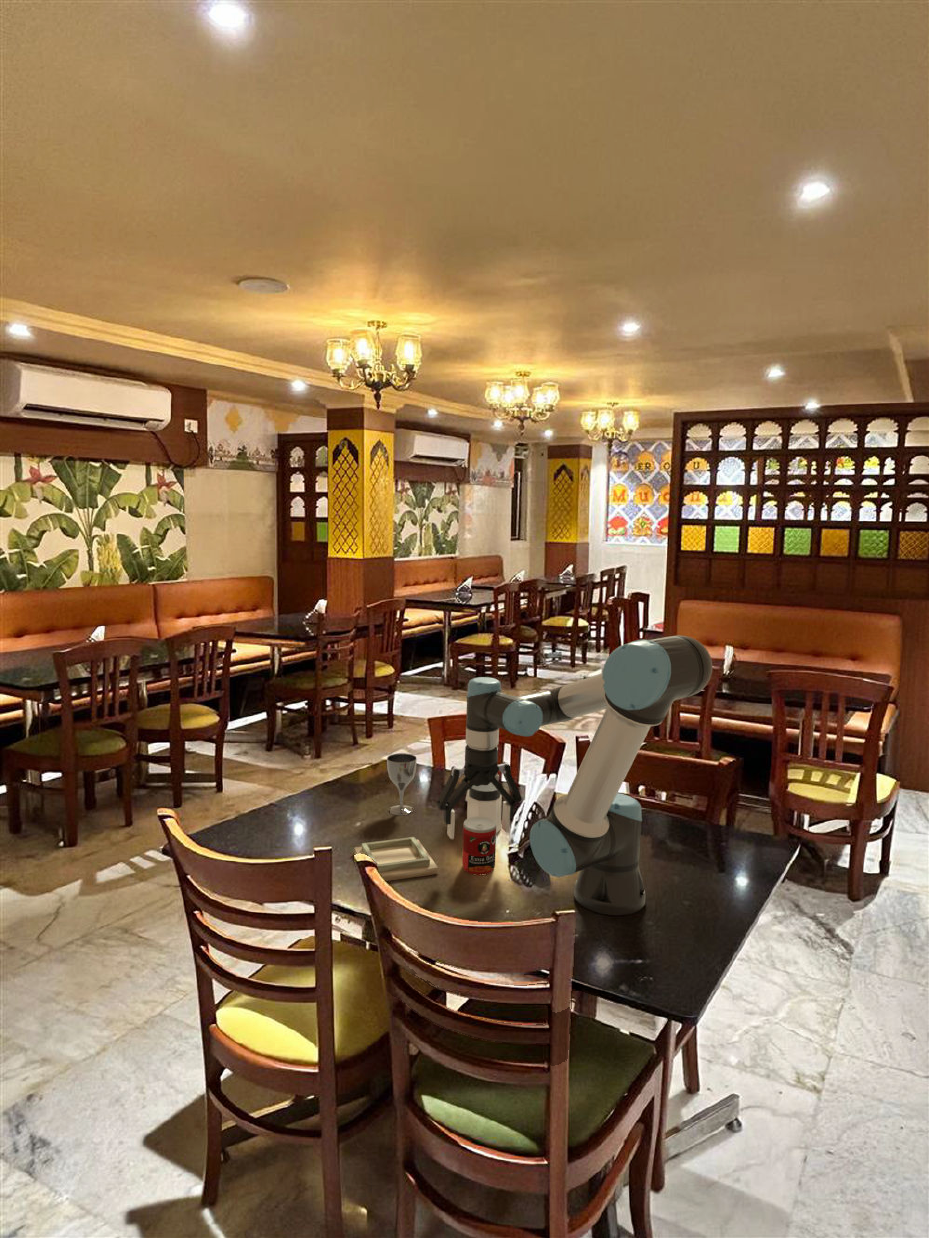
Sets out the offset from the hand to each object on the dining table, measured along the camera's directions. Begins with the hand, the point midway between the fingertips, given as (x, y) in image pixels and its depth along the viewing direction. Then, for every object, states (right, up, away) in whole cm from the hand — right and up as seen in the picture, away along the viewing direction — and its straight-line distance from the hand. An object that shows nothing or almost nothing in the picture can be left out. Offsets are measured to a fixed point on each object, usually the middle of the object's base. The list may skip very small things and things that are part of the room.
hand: (478, 833), depth 187 cm
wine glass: (-21, -3, +34) cm, 40 cm away
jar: (+2, -5, +23) cm, 23 cm away
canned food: (0, -9, +1) cm, 9 cm away
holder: (-20, -8, +2) cm, 21 cm away
